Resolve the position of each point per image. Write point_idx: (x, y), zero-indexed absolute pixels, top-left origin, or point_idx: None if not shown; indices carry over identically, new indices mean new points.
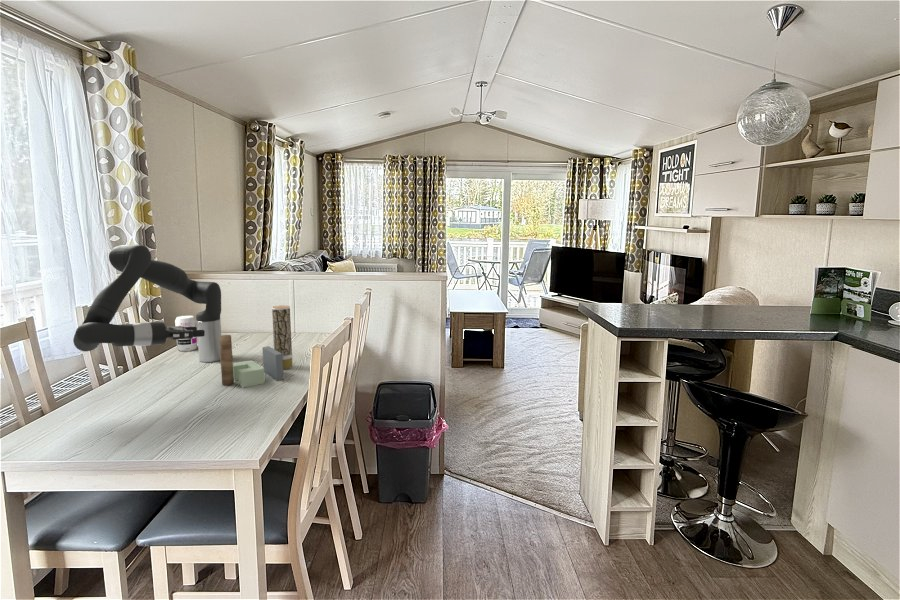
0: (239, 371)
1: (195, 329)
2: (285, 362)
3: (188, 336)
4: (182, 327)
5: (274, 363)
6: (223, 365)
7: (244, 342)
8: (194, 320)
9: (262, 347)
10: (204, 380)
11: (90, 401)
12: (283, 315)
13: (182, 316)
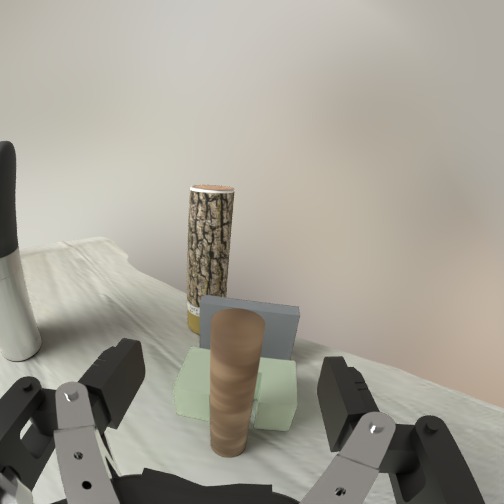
0: (273, 405)
1: (139, 358)
2: None
3: (412, 470)
4: (91, 409)
5: (284, 335)
6: (241, 421)
7: (26, 279)
8: None
9: (200, 302)
10: (132, 460)
11: None
12: (231, 208)
13: None
